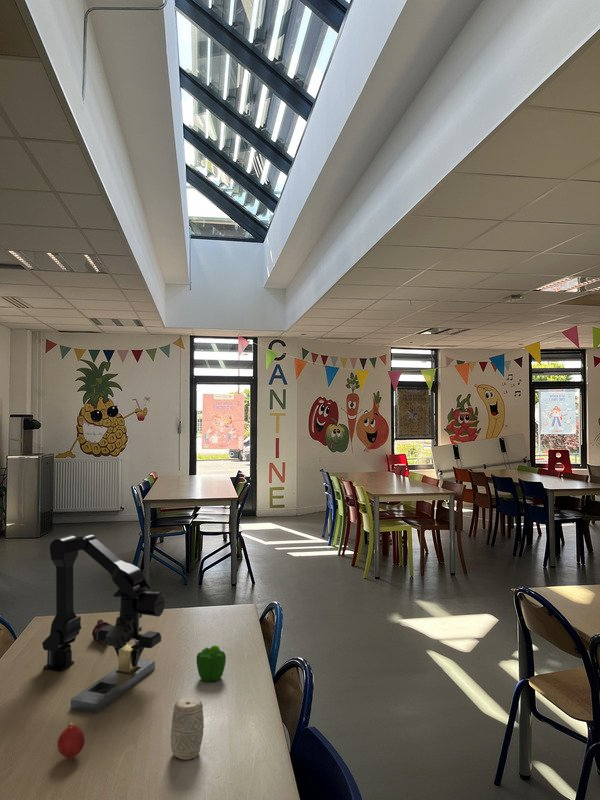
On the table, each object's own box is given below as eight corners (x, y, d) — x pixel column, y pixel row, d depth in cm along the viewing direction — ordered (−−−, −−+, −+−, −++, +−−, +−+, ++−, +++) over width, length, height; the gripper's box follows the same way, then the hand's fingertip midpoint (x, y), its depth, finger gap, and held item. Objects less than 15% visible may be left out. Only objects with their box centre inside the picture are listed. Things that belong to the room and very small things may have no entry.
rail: (70, 708, 151) (70, 699, 151) (132, 665, 177) (132, 657, 177) (96, 713, 148) (96, 704, 148) (154, 668, 175) (154, 660, 175)
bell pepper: (191, 676, 170) (192, 643, 170) (215, 669, 175) (216, 636, 175) (204, 687, 163) (205, 652, 164) (229, 680, 168) (230, 645, 169)
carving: (204, 760, 129) (204, 706, 129) (169, 764, 127) (171, 709, 128) (202, 744, 135) (203, 693, 135) (170, 748, 134) (171, 696, 134)
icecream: (121, 627, 191) (111, 617, 204) (99, 625, 188) (90, 616, 201) (116, 649, 190) (105, 638, 203) (93, 648, 186) (84, 636, 199)
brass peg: (118, 676, 167) (118, 649, 167) (126, 671, 171) (126, 644, 171) (129, 679, 166) (130, 651, 166) (137, 673, 170) (138, 646, 170)
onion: (62, 751, 132) (62, 716, 132) (87, 750, 132) (88, 715, 132) (53, 766, 126) (54, 730, 126) (80, 765, 126) (80, 729, 127)
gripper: (85, 617, 164) (83, 672, 164) (141, 625, 159) (140, 682, 158) (109, 605, 175) (108, 656, 174) (162, 612, 169) (161, 665, 169)
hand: (128, 665), depth 169 cm, fingers closed on brass peg, 4 cm apart
